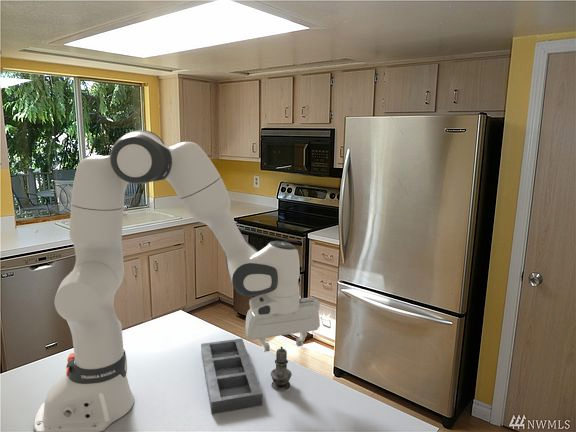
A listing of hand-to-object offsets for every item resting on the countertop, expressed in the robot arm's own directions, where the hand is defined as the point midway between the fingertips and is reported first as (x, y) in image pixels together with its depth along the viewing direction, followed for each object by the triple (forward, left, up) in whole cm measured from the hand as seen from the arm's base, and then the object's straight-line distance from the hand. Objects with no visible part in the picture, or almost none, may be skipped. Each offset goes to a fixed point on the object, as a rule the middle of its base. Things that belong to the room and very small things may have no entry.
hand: (283, 347), depth 114 cm
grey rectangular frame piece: (-14, +8, -12) cm, 20 cm away
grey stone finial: (0, 0, -12) cm, 12 cm away
